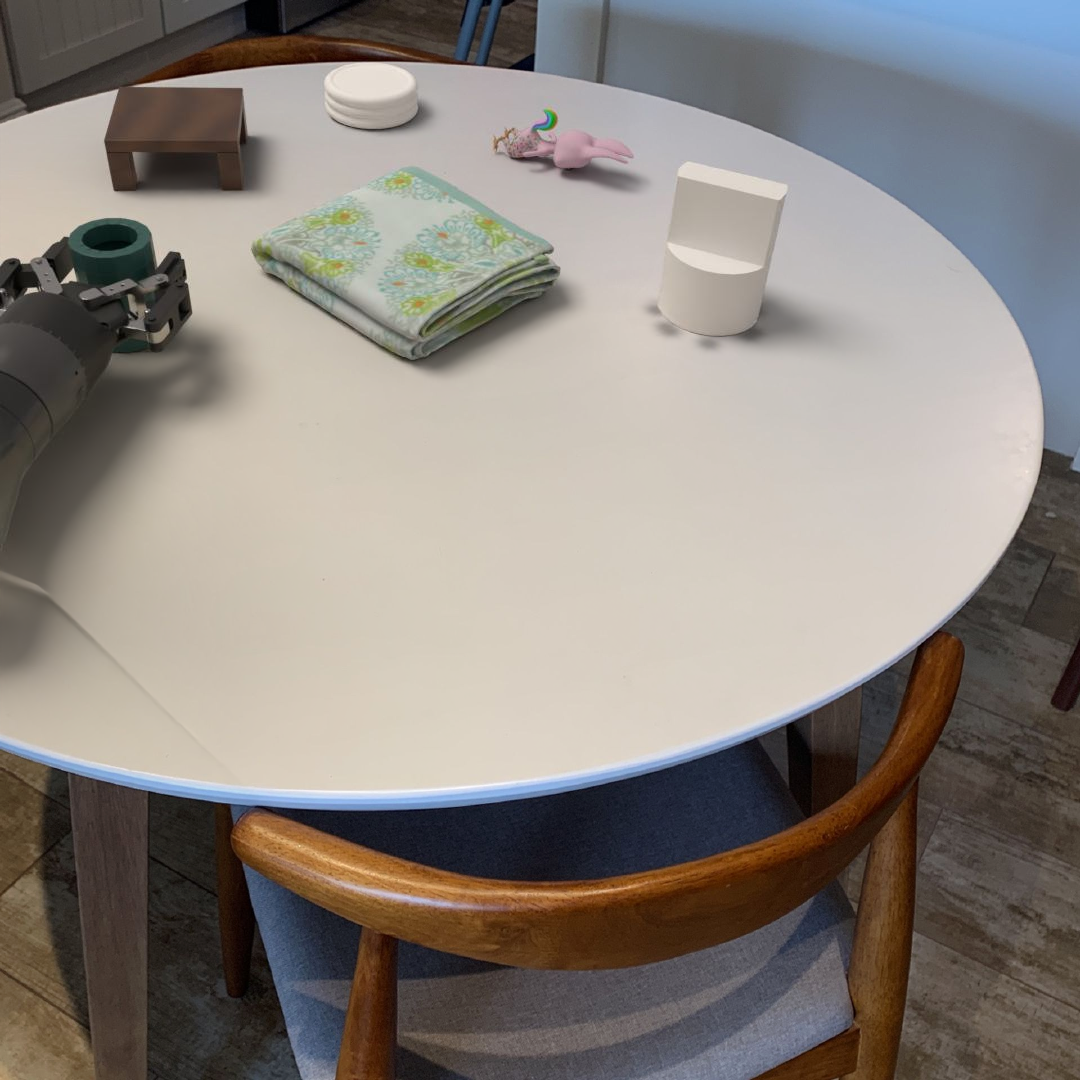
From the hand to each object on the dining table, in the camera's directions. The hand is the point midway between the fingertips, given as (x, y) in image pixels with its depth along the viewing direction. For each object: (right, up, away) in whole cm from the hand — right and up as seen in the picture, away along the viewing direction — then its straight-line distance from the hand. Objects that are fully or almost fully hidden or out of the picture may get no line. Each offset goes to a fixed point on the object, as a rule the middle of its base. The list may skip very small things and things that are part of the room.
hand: (125, 254), depth 93 cm
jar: (-1, -6, +3) cm, 6 cm away
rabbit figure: (+35, +16, +29) cm, 48 cm away
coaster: (+14, +24, +36) cm, 46 cm away
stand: (-3, +15, +24) cm, 29 cm away
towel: (+21, 0, +11) cm, 24 cm away
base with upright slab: (+48, -2, +12) cm, 49 cm away
